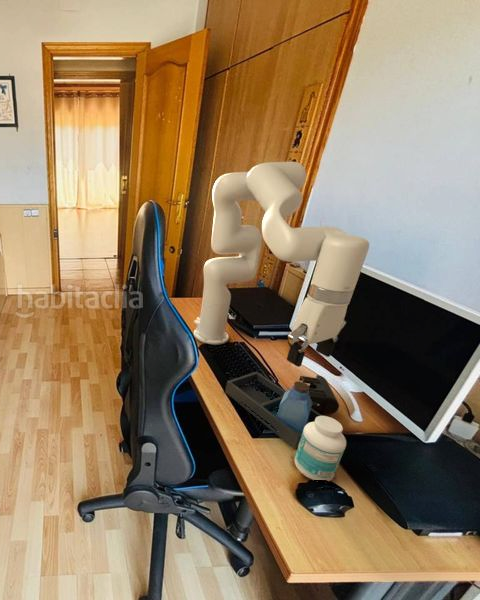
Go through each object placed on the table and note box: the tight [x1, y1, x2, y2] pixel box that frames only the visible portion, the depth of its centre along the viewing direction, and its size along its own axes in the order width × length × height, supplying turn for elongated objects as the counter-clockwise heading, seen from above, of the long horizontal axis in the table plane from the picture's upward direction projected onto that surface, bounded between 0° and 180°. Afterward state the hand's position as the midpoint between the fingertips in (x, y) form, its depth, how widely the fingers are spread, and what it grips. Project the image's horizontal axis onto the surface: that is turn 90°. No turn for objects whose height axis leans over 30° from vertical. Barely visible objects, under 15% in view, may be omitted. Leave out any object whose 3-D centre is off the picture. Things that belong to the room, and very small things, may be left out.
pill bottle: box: [293, 415, 347, 482], centre depth 71 cm, size 8×7×14 cm
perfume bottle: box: [276, 380, 312, 433], centre depth 82 cm, size 6×6×12 cm
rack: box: [224, 371, 322, 450], centre depth 89 cm, size 22×12×4 cm, turn 21°
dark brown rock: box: [299, 374, 340, 416], centre depth 90 cm, size 10×7×7 cm
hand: (308, 358), depth 78 cm, fingers open, 9 cm apart
